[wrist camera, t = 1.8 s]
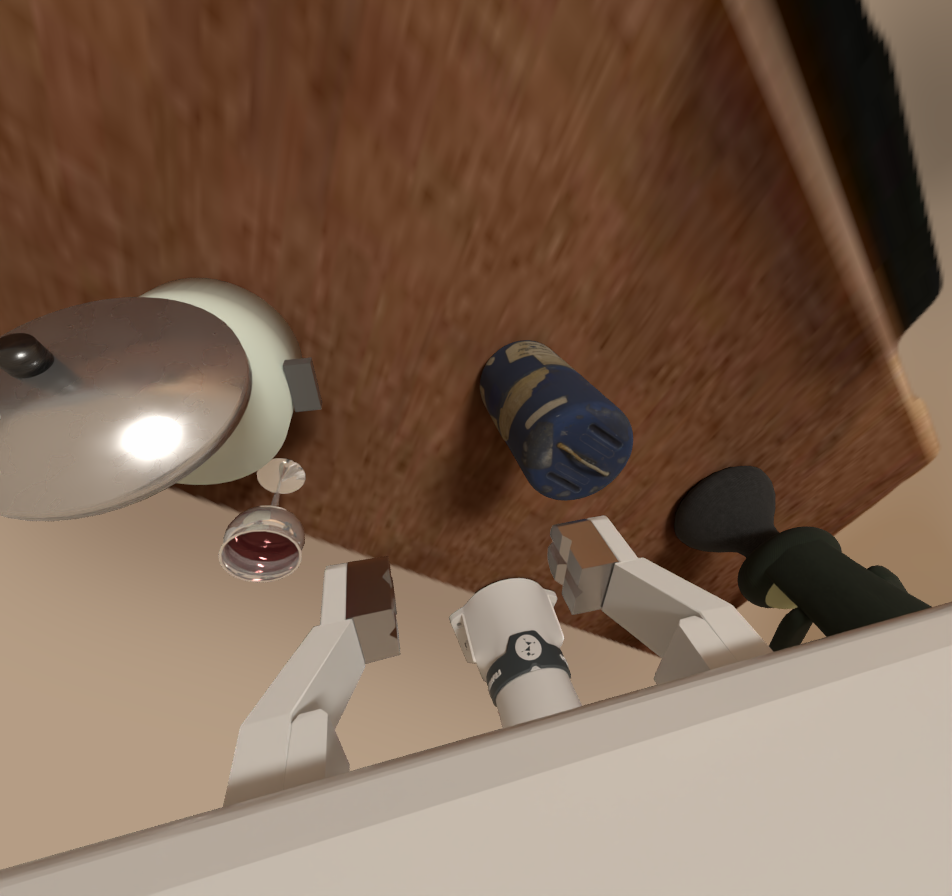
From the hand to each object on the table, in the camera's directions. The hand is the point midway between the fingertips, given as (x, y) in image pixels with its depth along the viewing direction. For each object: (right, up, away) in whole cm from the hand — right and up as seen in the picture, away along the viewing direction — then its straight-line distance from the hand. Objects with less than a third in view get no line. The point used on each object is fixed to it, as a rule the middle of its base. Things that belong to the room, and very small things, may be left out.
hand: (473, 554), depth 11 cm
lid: (-19, +6, +11) cm, 23 cm away
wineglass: (-22, 0, +35) cm, 41 cm away
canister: (+5, +11, +35) cm, 37 cm away
